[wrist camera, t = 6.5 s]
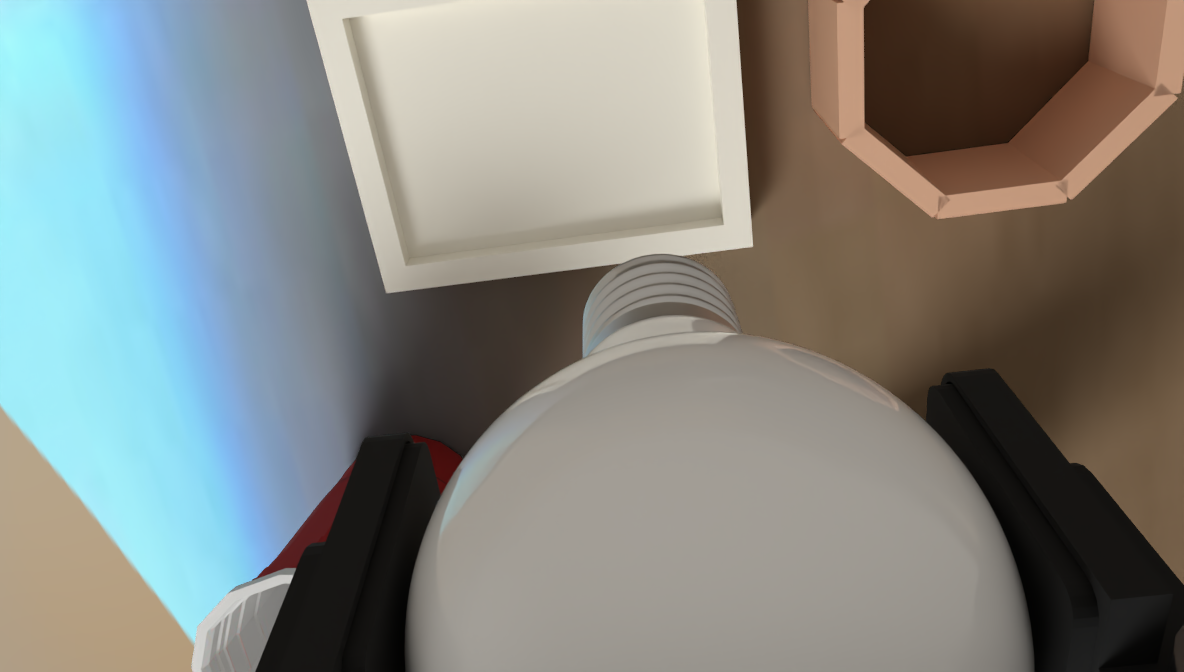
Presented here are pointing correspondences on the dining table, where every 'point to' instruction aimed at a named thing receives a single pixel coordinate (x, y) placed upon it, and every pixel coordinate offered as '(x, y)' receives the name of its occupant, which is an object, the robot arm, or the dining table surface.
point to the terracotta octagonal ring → (1046, 143)
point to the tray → (538, 132)
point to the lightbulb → (710, 513)
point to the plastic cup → (279, 584)
